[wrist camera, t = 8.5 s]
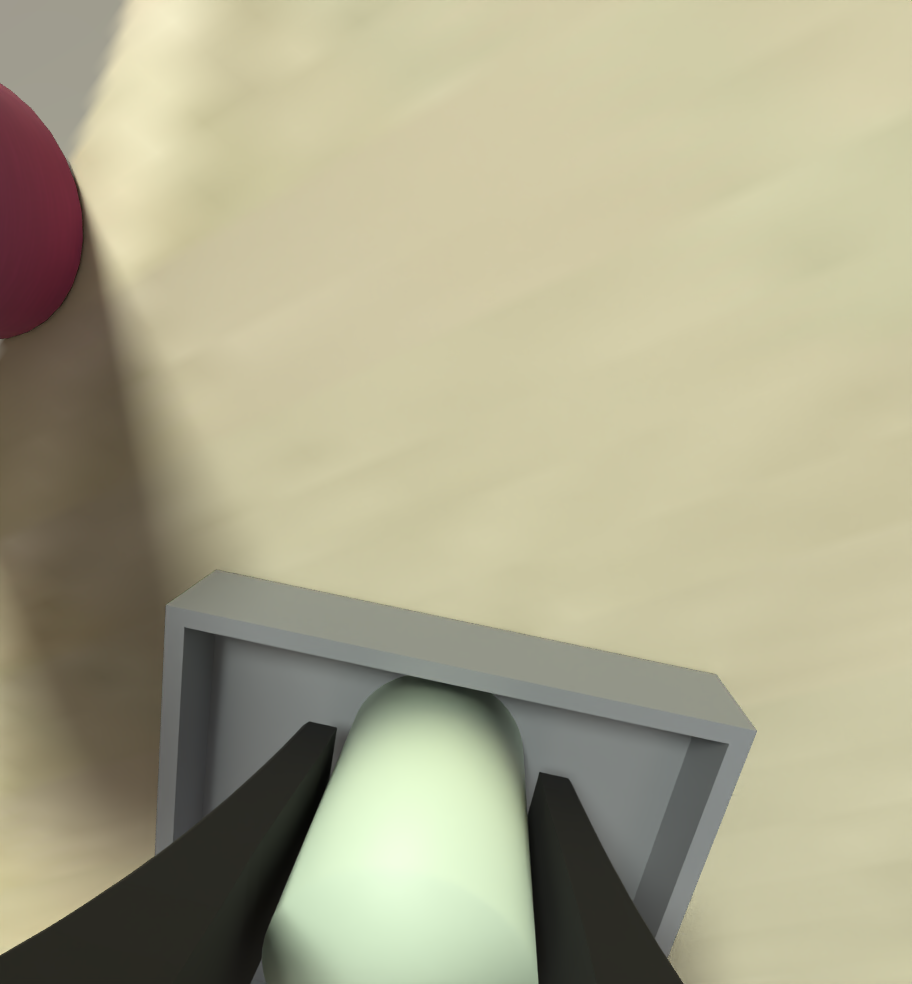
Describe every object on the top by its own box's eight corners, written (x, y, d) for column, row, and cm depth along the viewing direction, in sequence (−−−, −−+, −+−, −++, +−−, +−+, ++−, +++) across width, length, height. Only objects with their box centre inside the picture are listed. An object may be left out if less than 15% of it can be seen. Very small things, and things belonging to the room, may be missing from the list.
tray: (716, 674, 11) (757, 730, 9) (584, 1041, 14) (597, 1136, 12) (215, 569, 12) (165, 605, 10) (189, 947, 14) (147, 1026, 13)
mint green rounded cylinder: (540, 694, 11) (568, 908, 7) (503, 836, 12) (505, 1105, 8) (362, 655, 11) (275, 840, 7) (340, 800, 12) (251, 1042, 8)
